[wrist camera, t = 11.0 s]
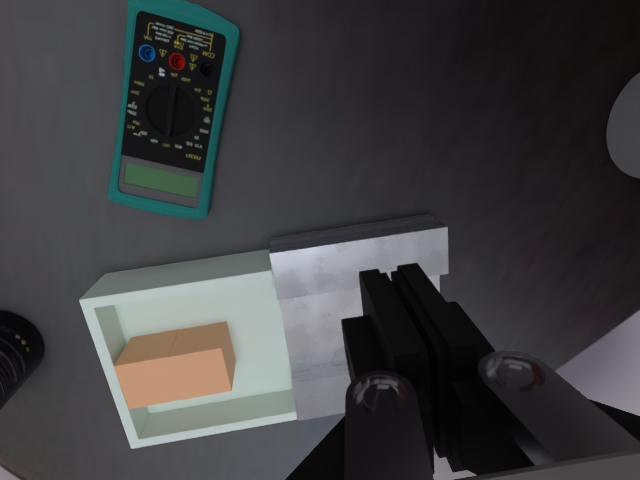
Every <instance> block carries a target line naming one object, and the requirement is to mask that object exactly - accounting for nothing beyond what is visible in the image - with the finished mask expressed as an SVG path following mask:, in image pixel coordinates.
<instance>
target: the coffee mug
mask: <svg viewBox="0 0 640 480" xmlns="http://www.w3.org/2000/svg"><path fill="white" fill-rule="evenodd" d="M606 138H607V147H608V150H609V154H610V156H611V158H612V160H613V162H614V163H615V164H616V166H617V167H618V168H619V169H620V170H621V171H623V172H624V173H626V174H628V175H630V176H633V177H636V178H640V72H639V73H638V74H637V75H636V76H634V77H633V78H632V79H631V80H630V81H629V82H628V83H627V85H626V86H625V87H624V88H623V90H622V91H621V92H620V94H619V96H618V97H617V99H616V101H615V103H614V105H613V107H612V109H611V112H610V115H609V119H608V123H607V130H606Z"/></svg>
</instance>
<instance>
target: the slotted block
mask: <svg viewBox="0 0 640 480" xmlns="http://www.w3.org/2000/svg"><path fill="white" fill-rule="evenodd" d="M269 255H270V261H271V267H272V272H273V278H274V284H275V290H276V296H277V301H279V304H280V309H281V315H282V321H283V327H284V333H285V339H286V344H287V350H288V356H289V362H290V368H291V380H292V388H293V394H294V400H295V406H296V411H297V417H298V421H300V420H306V419H311V418H317V417H323V416H328V415H334V414H340V413H345V395H346V391H347V388H348V386H349V385H350V383H351V380H350V376H349V371H348V366H347V360H346V354H345V348H344V340H343V333H342V325H341V319H345V318H352V317H358V316H363V310H362V300H361V291H360V282H359V271H365V270H372V269H379V271H380V273H385V272H386V273H387V275H388V276H389V278H390V280H391V271H397V266H398V265H404V264H411V263H418V264H419V266H420V267H421V268H422V270H423V271H424V272H425V274H426V275H427V276H428V278H429V279H430V280H431V282H432V283H433V285H434V286H435V287H436V289H437V290H438V291H439V293H440V282H439V275H443V274H448V227H447V226H446V225H444V224H443V223H441V222H440V221H438V220H437V219H436V218H434V217H433V216H431V215H430V214H425V215H418V216H412V217H405V218H398V219H391V220H385V221H378V222H371V223H364V224H358V225H351V226H344V227H337V228H331V229H324V230H317V231H310V232H304V233H297V234H290V235H283V236H277V237H270V246H269Z"/></svg>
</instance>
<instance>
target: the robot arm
mask: <svg viewBox="0 0 640 480" xmlns="http://www.w3.org/2000/svg"><path fill="white" fill-rule="evenodd" d="M359 282H360V291H361V300H362V310H363V316H358V317H352V318H345V319H341V325H342V333H343V340H344V348H345V354H346V360H347V366H348V371H349V376H350V380H351V383H350V385H349V386H348V388H347V391H346V395H345V416H344V417H343V418H342V419H341V420H340V421H339V423H338V424H337V425H336V426H335V427H334V428H333V429H332V430H331V431H330V432H329V433H328V434H327V435H326V437H325V438H324V439H323V440H322V441H321V442H320V443H319V444H318V445H317V446H316V447H315V448H314V449H313V450H312V452H311V453H310V454H309V455H308V456H307V457H306V458H305V459H304V460H303V461H302V462H301V463H300V464H299V465H298V467H297V468H296V469H295V470H294V471H293V472H292V473H291V474H290V475H289V476H288V477H287V478H286V479H285V480H434V479H433V474H434V452H433V446H434V448H435V450H436V453H437V455H438V457H439V458H443V457H446V458H447V460H448V463H449V465H450V467H451V469H452V472H458V471H464V470H469V471H470V472H472V473H474V474H476V475H477V476H473V477H466V478H461V479H455V480H640V416H637V415H635V414H632V413H629V412H625V411H622V410H620V409H617V408H614V407H611V406H608V405H605V404H601V403H599V402H595V401H593V400H589V399H587V398H586V397H585V396H584V395H582V394H581V393H580V392H579V391H578V390H576V389H575V388H574V387H573V386H572V385H570V384H569V383H568V382H567V381H565V380H564V379H563V378H562V377H561V376H560V375H558V374H557V373H556V372H555V371H554V370H552V369H551V368H550V367H549V366H547V365H546V364H545V363H544V362H542V361H540V360H539V359H537V358H536V357H533V356H531V355H528V354H526V353H521V352H517V351H497V352H496V351H495V350H494V348H493V347H492V346H491V345H490V343H489V342H488V341H487V339H486V338H485V337H484V336H483V334H482V333H481V332H480V331H479V329H478V328H477V327H476V326H475V324H474V323H473V322H472V320H471V319H470V318H469V317H468V315H467V314H466V313H465V312H464V310H463V309H462V308H461V307H460V305H459V304H458V303H457V302H446V301H445V299H444V298H443V297H442V295H441V294H440V293H439V291H438V290H437V289H436V287H435V286H434V285H433V283H432V282H431V280H430V279H429V278H428V276H427V275H426V274H425V272H424V271H423V270H422V268H421V267H420V266H419V264H418V263H411V264H404V265H398V266H397V271H391V280H390V278H389V276H388V275H387V273H386V272H385V273H380V271H379V269H372V270H365V271H359Z"/></svg>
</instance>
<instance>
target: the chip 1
mask: <svg viewBox="0 0 640 480" xmlns="http://www.w3.org/2000/svg"><path fill="white" fill-rule="evenodd" d="M178 331H179V329H177V330H171V331H165V332H160V333H154V334H148V335H142V336H136V337H131V339H130V340H129V342H128V344H127V345H126V347H125V348H124V350H123V352H122V353H121V355H120V357H119V358H118V360H117V362H116V363H115V365H114V369H115V372H116V374H117V377H118V380H119V383H120V386H121V388H122V391H123V394H124V397H125V399H126V402H127V405H128V408H129V409H133V408H139V407H144V406H149V405H155V404H160V403H166V402H171V401H177V400H181V399H180V396H179V392H178V389H177V386H176V383H175V379H174V376H173V373H172V369H171V366H170V363H169V360H168V356H169V353H170V351H171V348H172V346H173V344H174V341H175V339H176V336H177V334H178Z"/></svg>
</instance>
